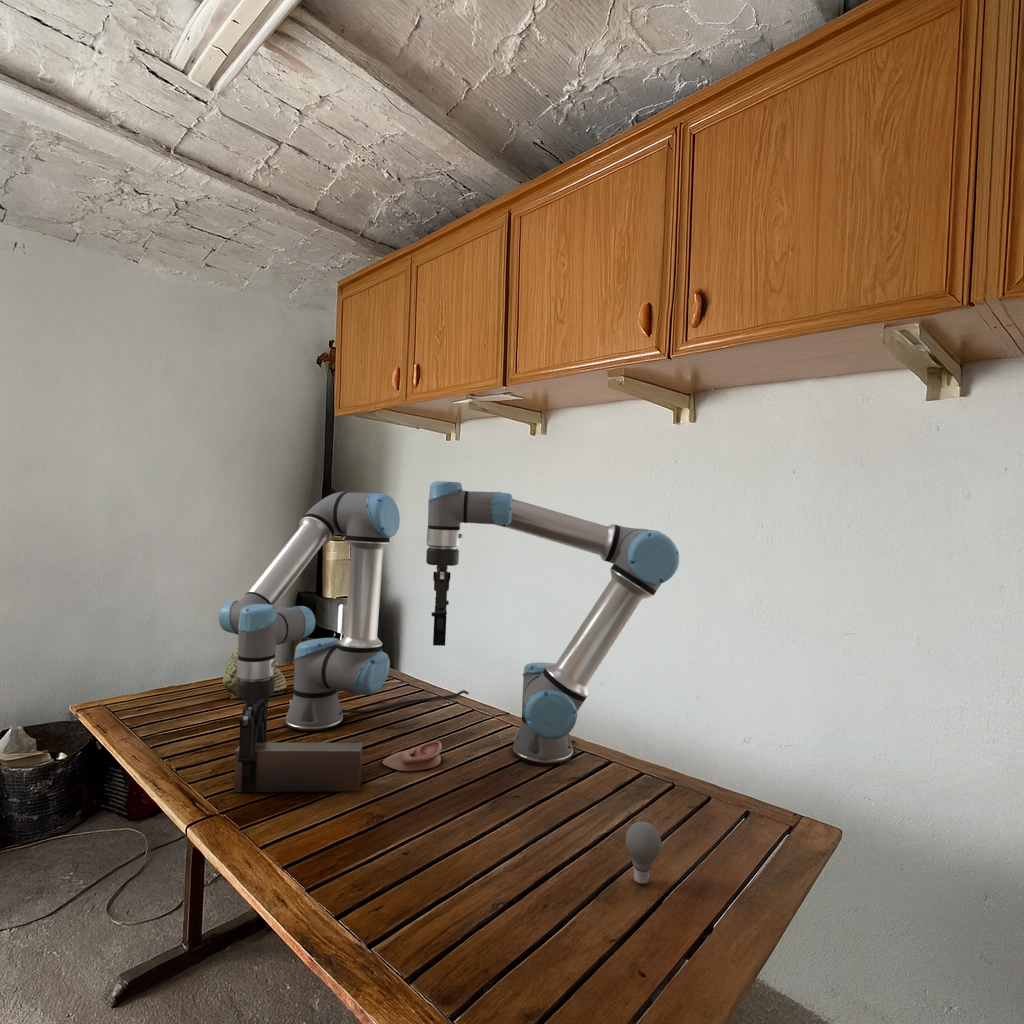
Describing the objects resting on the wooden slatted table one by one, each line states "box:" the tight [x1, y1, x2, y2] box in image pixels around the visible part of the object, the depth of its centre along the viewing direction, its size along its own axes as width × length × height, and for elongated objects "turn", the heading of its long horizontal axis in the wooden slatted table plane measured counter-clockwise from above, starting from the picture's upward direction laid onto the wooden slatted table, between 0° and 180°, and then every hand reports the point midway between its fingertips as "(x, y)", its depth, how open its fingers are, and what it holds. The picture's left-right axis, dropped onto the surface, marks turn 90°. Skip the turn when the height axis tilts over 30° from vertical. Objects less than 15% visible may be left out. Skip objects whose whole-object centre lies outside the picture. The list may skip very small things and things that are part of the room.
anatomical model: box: [382, 740, 443, 772], centre depth 153 cm, size 13×4×12 cm
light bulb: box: [624, 821, 662, 884], centre depth 108 cm, size 6×6×10 cm
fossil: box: [222, 647, 288, 699], centre depth 198 cm, size 9×18×15 cm, turn 132°
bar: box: [233, 742, 364, 793], centre depth 138 cm, size 26×5×9 cm, turn 96°
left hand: (252, 784), depth 137 cm, fingers closed on bar, 5 cm apart
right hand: (439, 638), depth 148 cm, fingers open, 13 cm apart
